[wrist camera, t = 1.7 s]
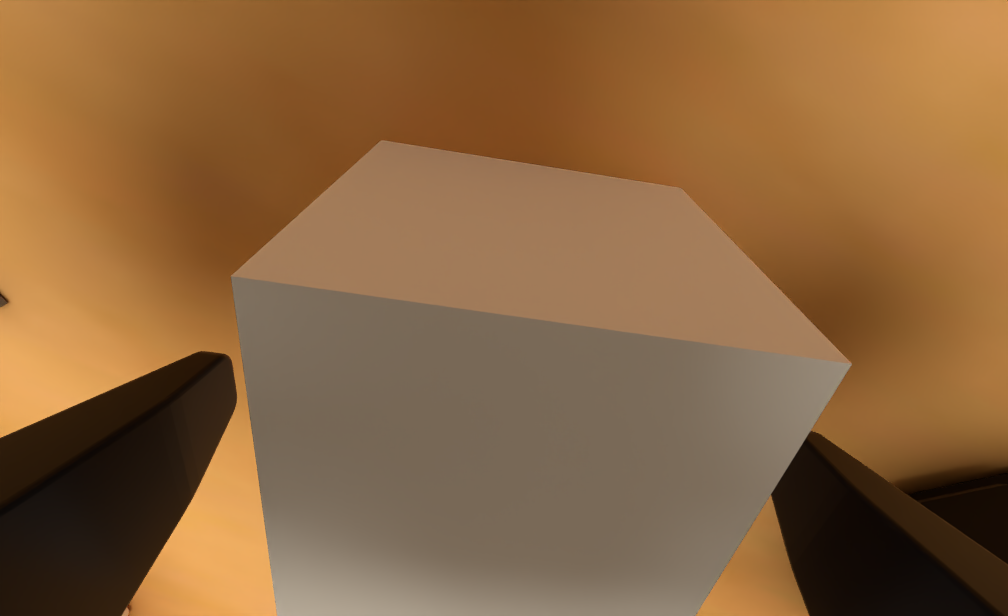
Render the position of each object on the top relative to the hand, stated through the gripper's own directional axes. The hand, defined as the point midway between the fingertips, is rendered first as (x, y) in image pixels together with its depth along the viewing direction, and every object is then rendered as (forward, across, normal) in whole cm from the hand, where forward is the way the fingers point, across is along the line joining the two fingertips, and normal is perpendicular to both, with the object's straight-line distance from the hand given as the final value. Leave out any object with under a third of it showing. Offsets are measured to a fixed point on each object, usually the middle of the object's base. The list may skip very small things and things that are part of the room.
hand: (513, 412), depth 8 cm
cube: (+4, 0, 0) cm, 4 cm away
